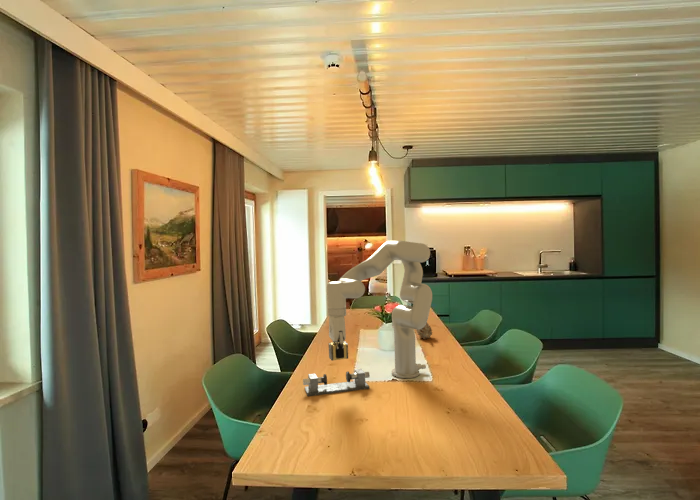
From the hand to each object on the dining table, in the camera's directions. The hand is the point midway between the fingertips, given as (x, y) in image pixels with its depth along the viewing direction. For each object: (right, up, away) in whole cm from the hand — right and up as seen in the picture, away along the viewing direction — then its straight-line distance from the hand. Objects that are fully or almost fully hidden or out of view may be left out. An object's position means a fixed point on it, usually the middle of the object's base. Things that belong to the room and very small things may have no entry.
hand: (338, 355), depth 164 cm
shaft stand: (-1, -15, +4) cm, 15 cm away
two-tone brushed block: (0, -1, 0) cm, 1 cm away
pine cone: (+51, -12, +80) cm, 96 cm away
